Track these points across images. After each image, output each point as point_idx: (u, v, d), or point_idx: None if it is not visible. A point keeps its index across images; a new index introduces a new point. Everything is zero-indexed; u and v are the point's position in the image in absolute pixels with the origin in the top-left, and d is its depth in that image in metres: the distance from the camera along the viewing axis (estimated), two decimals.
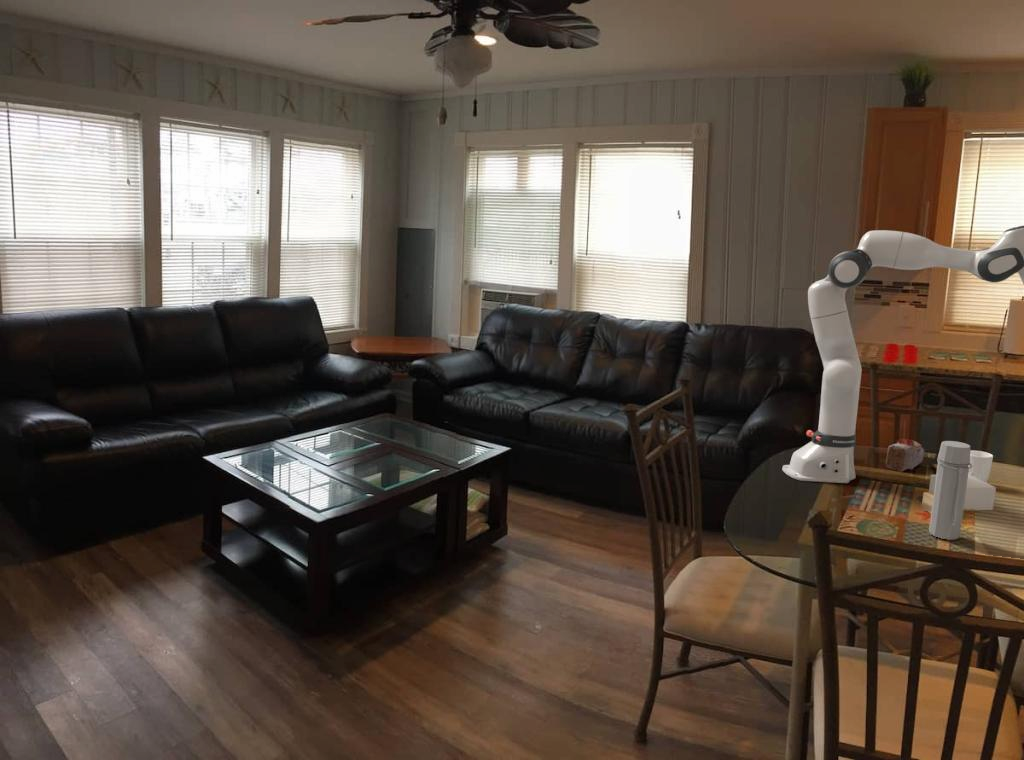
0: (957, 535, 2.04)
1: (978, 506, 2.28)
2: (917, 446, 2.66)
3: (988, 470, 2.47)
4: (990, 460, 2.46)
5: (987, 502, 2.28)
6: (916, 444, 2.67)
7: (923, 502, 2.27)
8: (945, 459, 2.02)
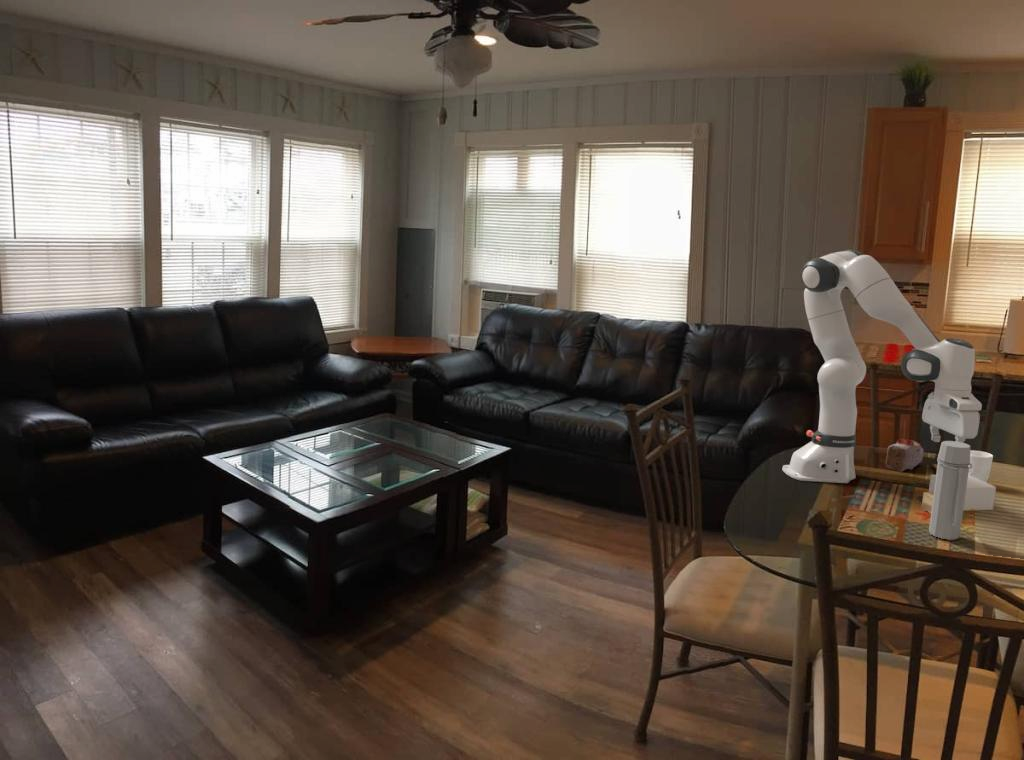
0: (957, 535, 2.04)
1: (979, 506, 2.28)
2: (917, 446, 2.66)
3: (988, 470, 2.47)
4: (990, 460, 2.46)
5: (987, 502, 2.28)
6: (916, 444, 2.67)
7: (923, 502, 2.27)
8: (945, 459, 2.02)
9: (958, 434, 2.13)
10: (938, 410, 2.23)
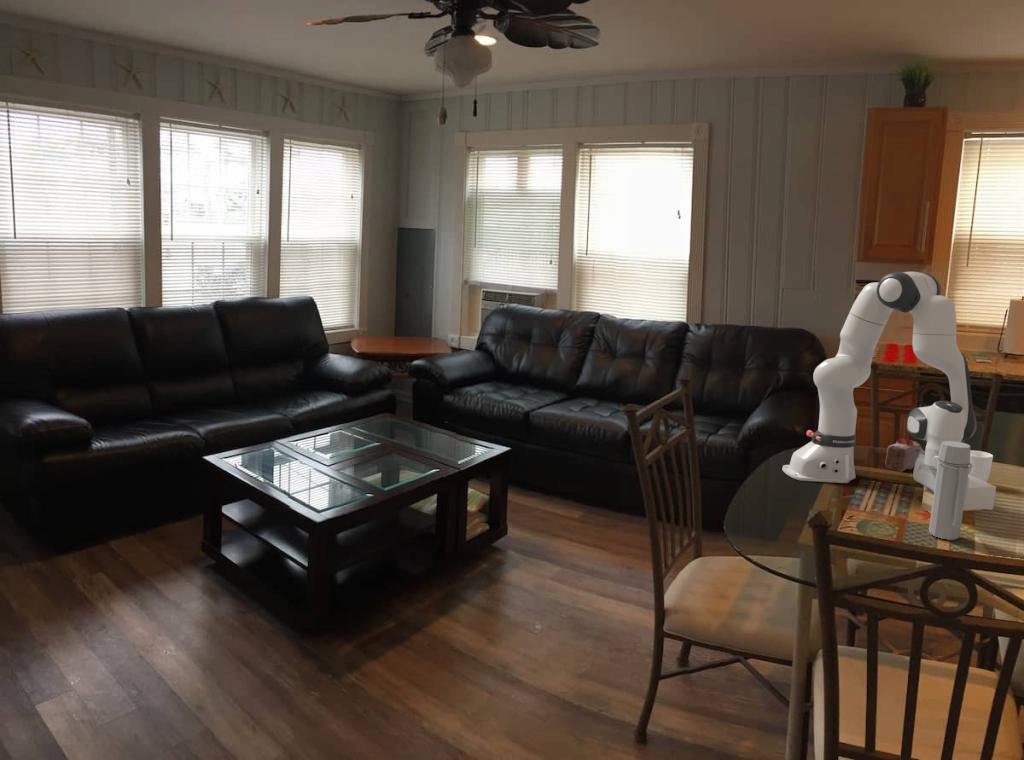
0: (957, 535, 2.04)
1: (980, 506, 2.28)
2: (916, 446, 2.66)
3: (988, 470, 2.47)
4: (990, 460, 2.46)
5: (987, 502, 2.28)
6: (915, 444, 2.67)
7: (923, 501, 2.27)
8: (945, 458, 2.02)
9: None
10: (928, 470, 2.26)
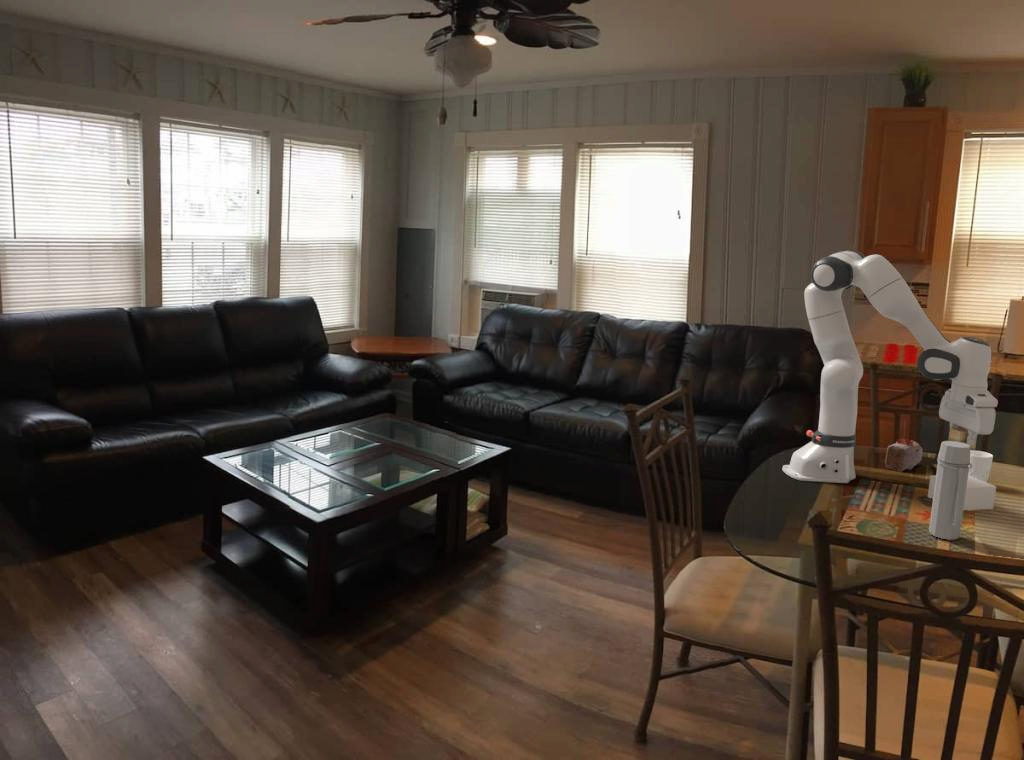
0: (957, 535, 2.04)
1: (980, 506, 2.28)
2: (916, 446, 2.66)
3: (988, 470, 2.47)
4: (990, 460, 2.46)
5: (988, 502, 2.28)
6: (915, 444, 2.67)
7: (949, 438, 2.29)
8: (945, 458, 2.02)
9: (974, 430, 2.19)
10: (955, 407, 2.28)
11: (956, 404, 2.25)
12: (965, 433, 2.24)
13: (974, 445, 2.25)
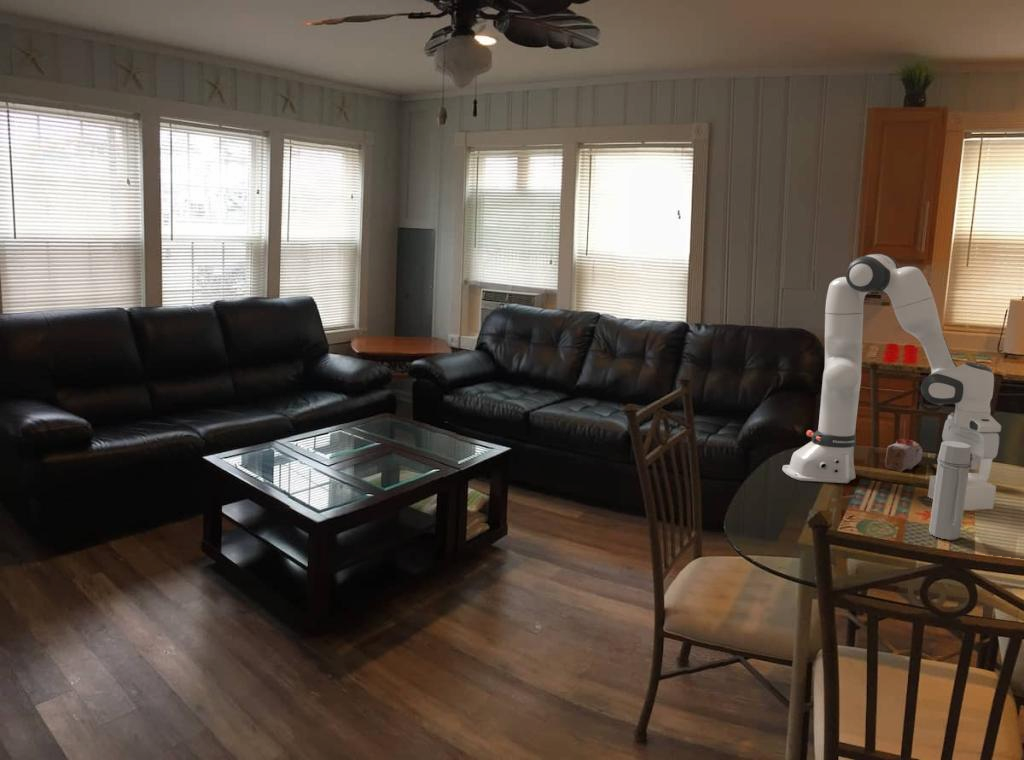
0: (957, 535, 2.04)
1: (981, 506, 2.28)
2: (916, 446, 2.66)
3: (988, 470, 2.47)
4: (990, 460, 2.46)
5: (988, 502, 2.28)
6: (915, 444, 2.67)
7: None
8: (945, 459, 2.01)
9: (978, 454, 2.23)
10: (958, 431, 2.32)
11: (960, 428, 2.29)
12: None
13: (978, 469, 2.29)
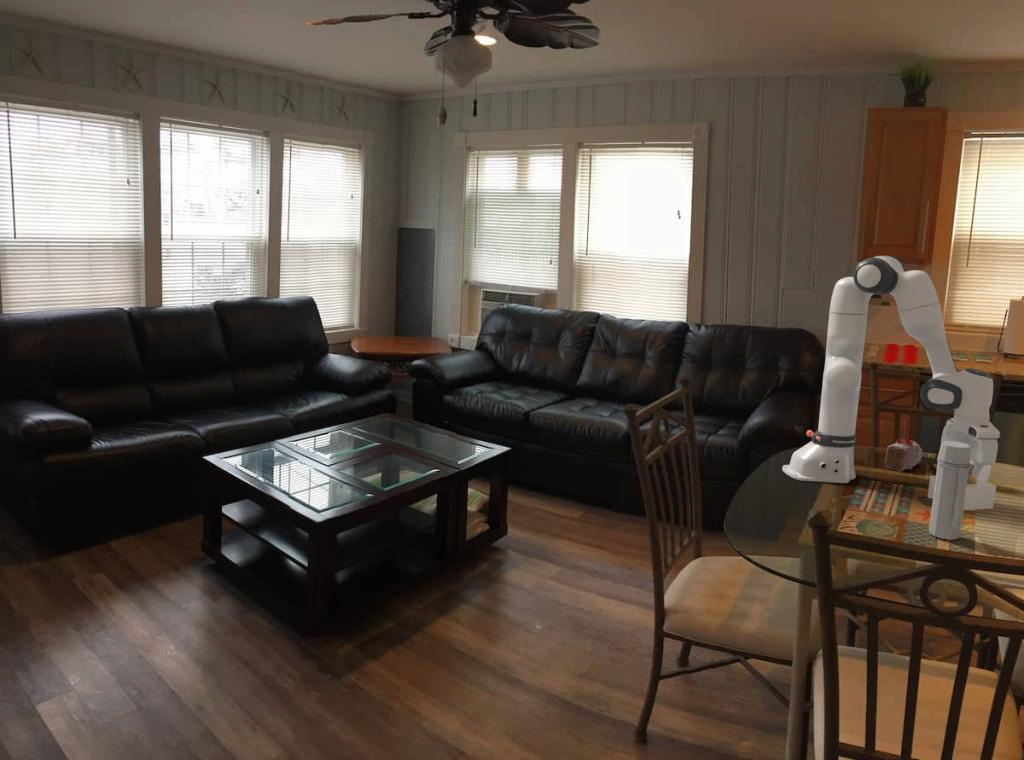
0: (957, 535, 2.04)
1: (981, 506, 2.28)
2: (916, 446, 2.66)
3: (988, 470, 2.47)
4: None
5: (988, 501, 2.29)
6: (914, 444, 2.67)
7: None
8: (945, 459, 2.01)
9: (977, 461, 2.23)
10: (957, 436, 2.32)
11: (958, 434, 2.29)
12: None
13: (975, 479, 2.30)
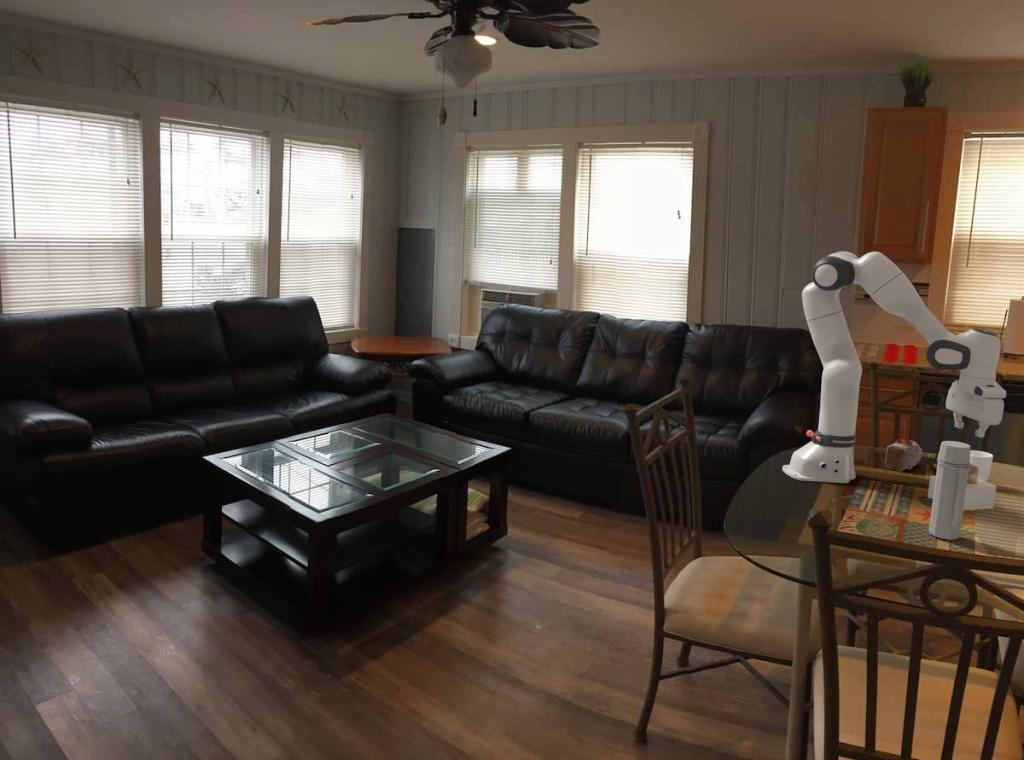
0: (957, 535, 2.04)
1: (981, 506, 2.28)
2: (915, 446, 2.66)
3: (988, 470, 2.47)
4: (990, 460, 2.46)
5: (988, 501, 2.29)
6: (914, 444, 2.67)
7: None
8: (945, 459, 2.02)
9: (982, 420, 2.21)
10: (962, 397, 2.30)
11: (964, 395, 2.27)
12: None
13: (975, 479, 2.30)
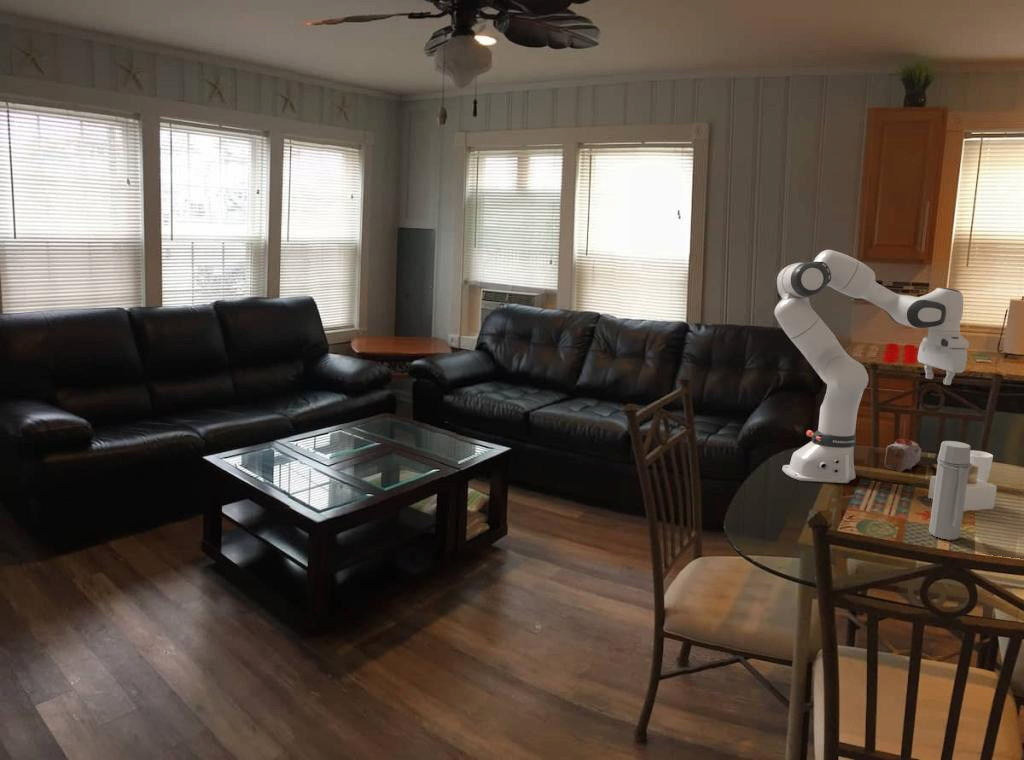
0: (957, 535, 2.04)
1: (981, 506, 2.28)
2: (915, 446, 2.66)
3: (988, 470, 2.47)
4: (990, 460, 2.46)
5: (989, 502, 2.28)
6: (914, 444, 2.67)
7: None
8: (945, 458, 2.02)
9: (949, 369, 2.46)
10: (931, 350, 2.55)
11: (932, 347, 2.52)
12: None
13: (975, 479, 2.30)
